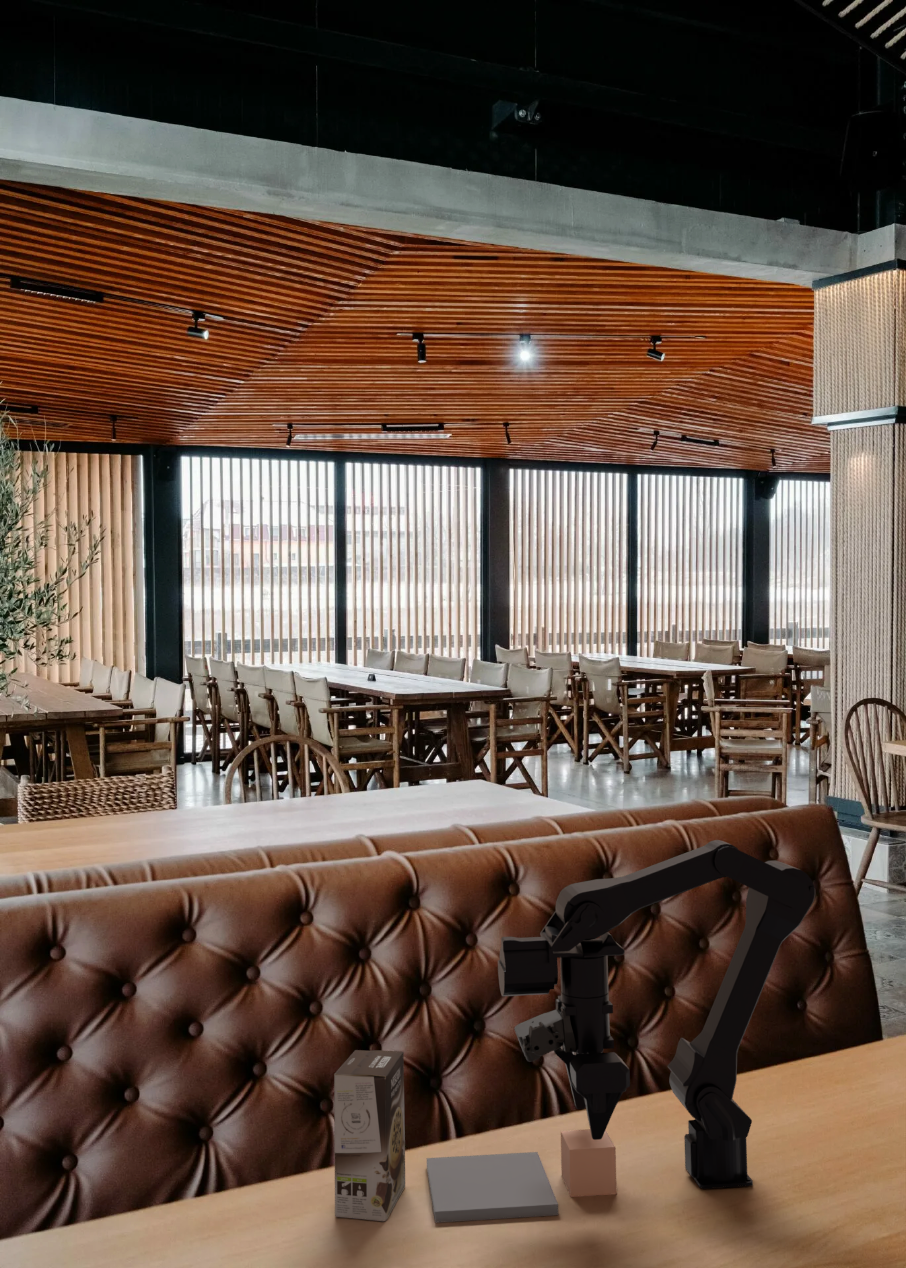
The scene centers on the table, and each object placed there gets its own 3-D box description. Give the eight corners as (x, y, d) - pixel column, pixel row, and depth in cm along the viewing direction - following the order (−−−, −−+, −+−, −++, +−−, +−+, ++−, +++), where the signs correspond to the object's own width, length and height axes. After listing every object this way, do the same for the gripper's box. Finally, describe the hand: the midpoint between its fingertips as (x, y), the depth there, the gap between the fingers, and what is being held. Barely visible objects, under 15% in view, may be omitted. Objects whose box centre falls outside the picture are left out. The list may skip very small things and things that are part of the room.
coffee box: (388, 1222, 122) (386, 1076, 123) (333, 1218, 124) (331, 1073, 124) (407, 1186, 131) (405, 1049, 132) (356, 1182, 132) (354, 1047, 133)
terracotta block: (605, 1174, 134) (604, 1128, 134) (616, 1194, 128) (615, 1147, 129) (561, 1176, 133) (560, 1130, 133) (570, 1197, 128) (569, 1149, 128)
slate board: (537, 1161, 137) (537, 1151, 137) (558, 1215, 123) (558, 1204, 123) (426, 1168, 136) (426, 1158, 136) (435, 1222, 122) (434, 1211, 122)
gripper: (507, 974, 140) (510, 1098, 140) (531, 1018, 122) (534, 1161, 121) (592, 970, 141) (596, 1093, 141) (629, 1013, 123) (633, 1154, 122)
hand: (588, 1123), depth 131 cm, fingers open, 9 cm apart
